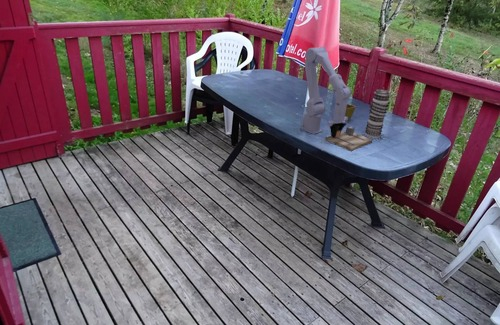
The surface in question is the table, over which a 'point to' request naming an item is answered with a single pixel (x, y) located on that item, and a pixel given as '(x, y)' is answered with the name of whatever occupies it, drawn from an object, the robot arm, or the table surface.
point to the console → (349, 140)
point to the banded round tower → (377, 113)
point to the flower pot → (349, 111)
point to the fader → (350, 130)
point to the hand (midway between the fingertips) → (335, 136)
